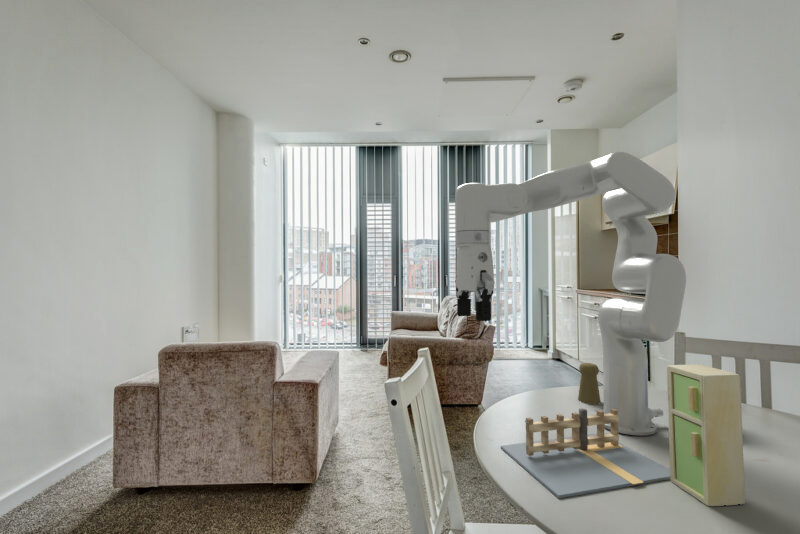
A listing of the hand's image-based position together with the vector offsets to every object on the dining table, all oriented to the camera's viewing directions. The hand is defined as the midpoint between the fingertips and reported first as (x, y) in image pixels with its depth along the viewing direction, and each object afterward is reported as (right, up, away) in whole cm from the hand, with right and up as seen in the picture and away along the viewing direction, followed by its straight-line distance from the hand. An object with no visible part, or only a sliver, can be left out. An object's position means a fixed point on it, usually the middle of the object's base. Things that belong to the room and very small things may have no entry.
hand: (473, 318), depth 83 cm
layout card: (+21, -28, -8) cm, 35 cm away
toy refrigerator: (+36, -28, -18) cm, 49 cm away
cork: (+40, -29, +29) cm, 57 cm away
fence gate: (+16, -27, -5) cm, 31 cm away
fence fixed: (+26, -28, -2) cm, 38 cm away
